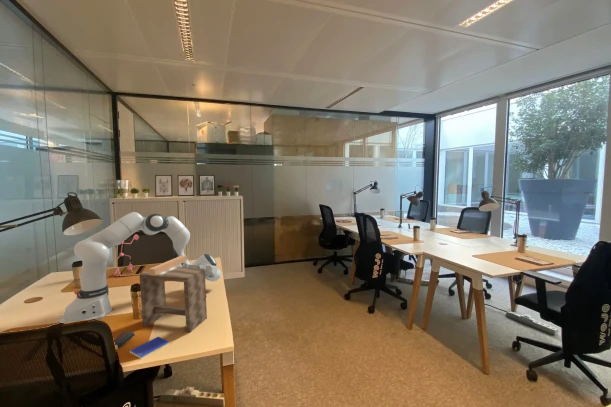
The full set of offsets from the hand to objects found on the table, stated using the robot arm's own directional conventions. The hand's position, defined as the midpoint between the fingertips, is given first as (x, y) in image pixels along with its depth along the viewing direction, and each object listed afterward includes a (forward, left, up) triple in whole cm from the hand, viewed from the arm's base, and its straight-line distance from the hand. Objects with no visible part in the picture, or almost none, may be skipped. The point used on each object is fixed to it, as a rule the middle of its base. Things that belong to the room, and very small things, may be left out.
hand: (191, 266), depth 166 cm
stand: (-17, -14, -22) cm, 31 cm away
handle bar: (-16, -8, +5) cm, 18 cm away
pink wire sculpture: (-9, +93, -22) cm, 96 cm away
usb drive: (-41, -14, -22) cm, 49 cm away
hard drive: (-34, -28, -23) cm, 49 cm away
